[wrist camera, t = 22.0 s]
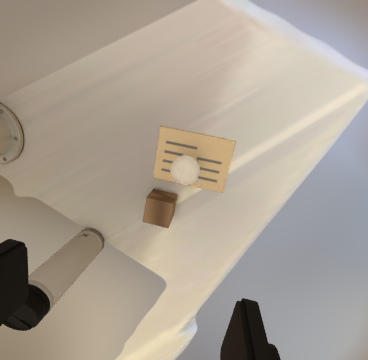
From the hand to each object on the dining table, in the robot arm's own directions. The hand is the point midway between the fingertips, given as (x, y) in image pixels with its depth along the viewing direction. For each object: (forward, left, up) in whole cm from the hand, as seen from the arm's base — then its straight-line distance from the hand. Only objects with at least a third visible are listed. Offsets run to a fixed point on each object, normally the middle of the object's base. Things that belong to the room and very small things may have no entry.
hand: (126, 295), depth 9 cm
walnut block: (-4, -10, -32) cm, 34 cm away
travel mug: (-19, -23, -32) cm, 44 cm away
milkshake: (0, 0, -32) cm, 32 cm away
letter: (0, 0, -32) cm, 32 cm away
